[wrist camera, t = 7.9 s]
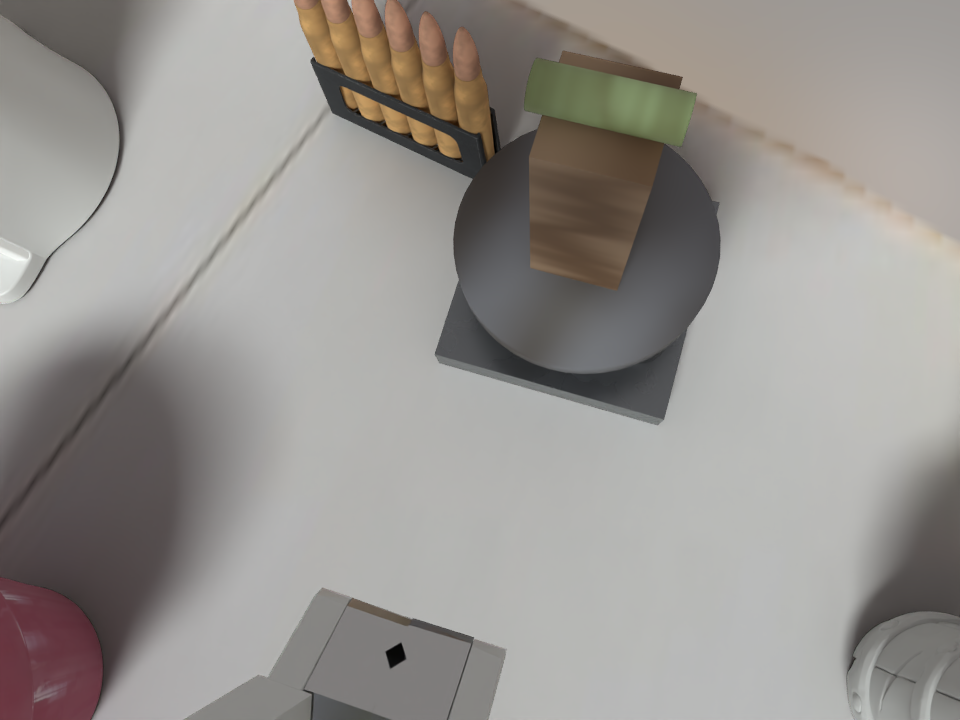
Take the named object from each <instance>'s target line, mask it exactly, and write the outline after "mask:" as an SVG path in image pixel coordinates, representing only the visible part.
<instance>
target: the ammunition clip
mask: <svg viewBox="0 0 960 720" xmlns="http://www.w3.org/2000/svg"><path fill="white" fill-rule="evenodd" d="M294 3H295V6H296V8H297V11H298V14H299V20H300V24H301V27H302V30H303V32H304V34H305V37H306V39H307V41H308V43H309V45H310V48H311V50H312V52H313V54H314V56H315V57H313V58H312V59H311V64H312V66H313V69H314V71H315V73H316V76H317V78H318V80H319V83H320V85H321V87H322V90H323V92H324V94H325V97H326V99H327V101H328V104H329V106H330V108H331V111H332V113H334V114H336V115H338V116H340V117H342V118H344V119H346V120H348V121H351V122H353V123H355V124H357V125H359V126H361V127H363V128H365V129H368V130H370V131H372V132H374V133H376V134H378V135H380V136H382V137H385V138H387V139H389V140H391V141H393V142H395V143H397V144H400V145H402V146H404V147H406V148H408V149H410V150H412V151H414V152H417V153H419V154H421V155H423V156H425V157H427V158H429V159H431V160H434V161H436V162H438V163H440V164H442V165H444V166H446V167H448V168H451V169H453V170H455V171H457V172H459V173H461V174H463V175H465V176H468V177H470V178H472V179H473V178H474V177H475V176H476V174H477V173H478V172H479V171H480V169H481V168H482V167H483V165H484V164H485V163H486V162H487V161H488V160H489V159H490V158H491V157H492V156H493V155H494V154H496V153H497V152H498V151H500V150H501V148H500V142H499V136H498V130H497V123H496V116H495V110H494V109H493V108H491V107H489V99H488V91H487V85H486V83H485V80H484V78H483V75H482V70H481V66H480V62H479V56H478V52H477V49H476V46H475V43H474V41H473V39H472V37H471V35H470V33H469V32H468V31H467V30H466V29H465V28H464V27H460V28H459V29H458V31H457V33H456V35H455V39H454V44H453V64H454V68H453V66H452V64H451V62H450V59H449V55H448V52H447V49H446V44H445V40H444V37H443V35H442V32H441V30H440V28H439V25H438V23H437V22H436V20H435V19H434V17H433V16H432V15H431V14H430V13H429V12H427V11H425V12H424V13H423V14H422V16H421V19H420V24H419V46H420V49H419V47H418V45H417V42H416V39H415V36H414V34H413V30H412V27H411V24H410V22H409V19H408V17H407V15H406V13H405V11H404V9H403V7H402V6H401V4H400V3H399V2H398V1H397V0H387V2H386V6H385V24H386V30H385V27H384V24H383V22H382V20H381V17H380V14H379V12H378V9H377V7H376V5H375V3H374V0H352V9H353V13H352V10H351V8H350V6H349V4H348V2H347V0H294ZM315 59H316V60H315ZM316 61H317V62H316Z"/></svg>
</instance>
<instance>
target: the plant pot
mask: <svg viewBox="0 0 960 720" xmlns="http://www.w3.org/2000/svg"><path fill="white" fill-rule="evenodd" d="M102 678H103V659H102V651H101V646H100V642H99V640H98V637H97V634H96V632H95V629H94V628H93V626H92V624H91V622H90V621H89V619H88V618H87V616H86V615H85V614H84V612H83V611H82V610H81V609H80V608H79V607H78V606H77V605H76V604H75V603H74V602H72V601H71V600H69V599H68V598H66V597H65V596H63V595H61V594H59V593H57V592H55V591H52V590H49V589H46V588H42V587H37V586H32V585H28V584H24V583H21V582H17V581H13V580H9V579H6V578H2V577H0V720H91V718H92V716H93V713H94V711H95V708H96V706H97V703H98V700H99V696H100V692H101V686H102Z"/></svg>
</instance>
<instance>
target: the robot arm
mask: <svg viewBox="0 0 960 720" xmlns="http://www.w3.org/2000/svg"><path fill="white" fill-rule="evenodd" d="M118 152H119V127H118V121H117V116H116V113H115V109H114V107H113V104H112V102H111V100H110V98H109V96H108V94H107V93H106V91H105V89H104V88H103V87H102V85H101V84H100V83H99V82H98V81H97V79H95V78H94V77H93V76H92V75H91V74H90V73H89V72H88V71H86V70H85V69H84V68H82V67H81V66H79V65H77V64H75V63H74V62H72V61H70V60H68V59H66V58H64V57H62V56H61V55H59V54H57V53H56V52H54V51H52V50H51V49H49V48H47V47H46V46H44V45H43V44H41V43H40V42H38V41H37V40H35V39H34V38H32V37H31V36H29V35H28V34H26V33H25V32H24V31H23V30H22V29H20V28H19V27H18V26H17V25H15V24H14V23H13V22H11V21H10V20H9V19H7V18H5V17H3V16H1V15H0V304H6V303H12V302H15V301H17V300H18V299H20V298H21V297H22V296H23V295H24V294H25V293H26V292H27V291H28V289H29V288H30V287H31V285H32V284H33V282H34V280H35V279H36V277H37V275H38V274H39V272H40V270H41V268H42V266H43V265H44V263H45V261H46V259H47V258H48V257H49V256H50V254H51V253H52V252H53V251H54V250H55V249H56V248H58V247H59V246H60V245H61V244H62V243H63V242H65V241H66V240H67V239H68V238H69V237H70V236H71V235H73V234H74V233H75V232H76V231H77V230H78V229H79V228H80V227H81V226H82V225H83V224H84V223H85V222H86V221H87V219H88V218H89V217H90V216H91V214H92V213H93V212H94V211H95V209H96V208H97V206H98V205H99V203H100V202H101V200H102V198H103V197H104V195H105V193H106V191H107V189H108V187H109V184H110V182H111V180H112V177H113V174H114V171H115V167H116V163H117V158H118ZM473 641H474V642H473ZM505 655H506V649H505V648H502V647H499V646H495V645H492V644H489V643H486V642H482V641H479V640H476V639H474V637H471V636H468V635H465V634H461V633H458V632H455V631H452V630H449V629H446V628H442V627H439V626H436V625H433V624H430V623H427V622H423V621H420V620H417V619H414V618H413V619H411V618H408V617H405V616H402V615H399V614H397V613H394V612H391V611H388V610H385V609H382V608H380V607H377V606H374V605H371V604H368V603H365V602H363V601H360V600H357V599H354V598H352V597H349V596H346V595H343V594H340V593H337V592H334V591H331V590H328V589H325V588H322V589H321V590H320V591H319V592H318V593H317V594H316V595H315V596H314V598H313V599H312V601H311V603H310V605H309V606H308V608H307V610H306V611H305V613H304V615H303V617H302V618H301V620H300V622H299V624H298V625H297V627H296V629H295V631H294V632H293V634H292V636H291V638H290V639H289V641H288V643H287V644H286V646H285V648H284V650H283V651H282V653H281V655H280V657H279V658H278V660H277V662H276V664H275V665H274V667H273V669H272V670H271V672H270V674H269V676H268V677H264V676H261V675H257V676H256V677H254V678H252V679H251V680H249V681H247V682H246V683H244V684H242V685H241V686H239V687H237V688H236V689H234V690H232V691H230V692H229V693H227V694H225V695H224V696H222V697H220V698H219V699H217V700H215V701H214V702H212V703H210V704H209V705H207V706H205V707H204V708H202V709H200V710H199V711H197V712H195V713H194V714H192V715H190V716H189V717H187V718H185V719H184V720H488V719H489V715H490V711H491V708H492V704H493V700H494V696H495V693H496V689H497V685H498V682H499V678H500V674H501V671H502V667H503V663H504V659H505Z"/></svg>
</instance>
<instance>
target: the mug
mask: <svg viewBox="0 0 960 720" xmlns="http://www.w3.org/2000/svg"><path fill="white" fill-rule="evenodd" d="M853 657H854V658H856V660H854V663H853V665H852V667H851V669H850V670H849V671H848V674H847V692H848V700H849V705H850V709H851V712H852V715H853V717H854V720H960V617H959V616H955V615H951V614H947V613H941V612H929V611H924V612H914V613H908V614H904V615H901V616H898V617H895V618H893V619H891V620H889V621H885V622H882V623H881V624H879V625H877V626H876V627H874V628H873V629H872V630H870V631H869V632H868V633H867V634H866V635H865V636H864V637H863V638H862V640H861V642H860V643H859V644H858V646H857V647H856V649H855V651H854V654H853Z"/></svg>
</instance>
